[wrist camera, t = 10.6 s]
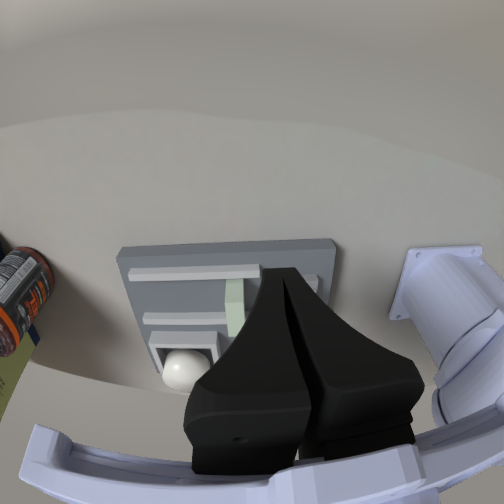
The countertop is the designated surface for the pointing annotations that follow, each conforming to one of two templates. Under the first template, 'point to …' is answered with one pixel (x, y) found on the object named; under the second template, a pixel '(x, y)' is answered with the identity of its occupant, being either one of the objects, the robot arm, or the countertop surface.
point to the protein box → (15, 362)
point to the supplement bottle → (21, 295)
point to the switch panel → (209, 287)
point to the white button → (184, 369)
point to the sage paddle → (234, 305)
